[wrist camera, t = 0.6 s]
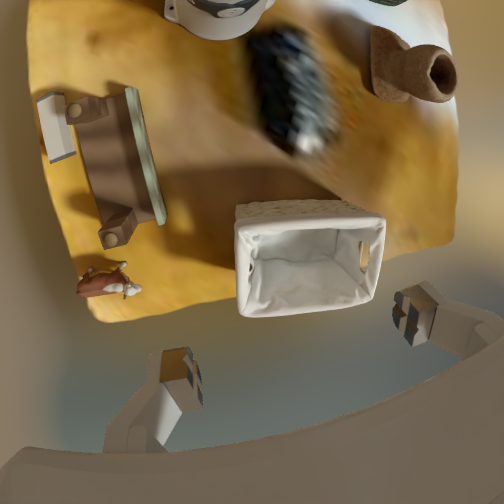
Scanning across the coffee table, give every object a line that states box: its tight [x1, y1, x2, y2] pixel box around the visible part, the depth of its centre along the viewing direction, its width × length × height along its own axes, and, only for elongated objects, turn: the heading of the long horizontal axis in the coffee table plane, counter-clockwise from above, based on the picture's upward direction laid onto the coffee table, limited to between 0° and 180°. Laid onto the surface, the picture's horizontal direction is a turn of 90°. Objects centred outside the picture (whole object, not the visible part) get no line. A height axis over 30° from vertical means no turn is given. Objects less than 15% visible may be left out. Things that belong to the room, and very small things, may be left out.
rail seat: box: [63, 87, 168, 250], centre depth 42 cm, size 23×12×11 cm, turn 10°
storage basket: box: [234, 199, 386, 317], centre depth 51 cm, size 24×16×15 cm
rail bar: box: [36, 92, 76, 164], centre depth 40 cm, size 12×4×4 cm, turn 10°
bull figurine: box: [77, 261, 142, 299], centre depth 51 cm, size 4×13×8 cm, turn 92°
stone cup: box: [370, 26, 458, 103], centre depth 39 cm, size 15×12×15 cm
